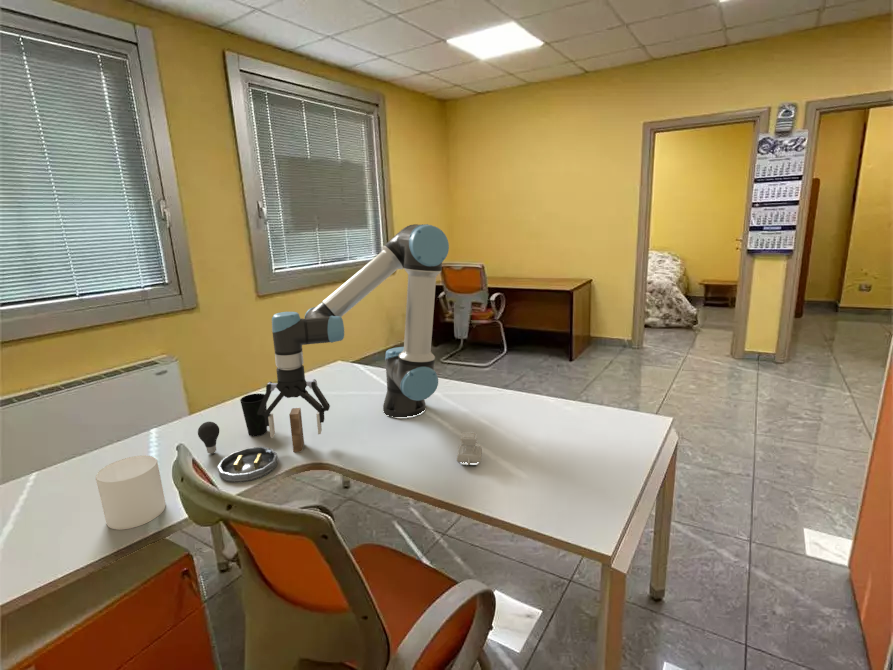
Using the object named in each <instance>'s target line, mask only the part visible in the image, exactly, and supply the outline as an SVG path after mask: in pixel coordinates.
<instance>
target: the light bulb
mask: <svg viewBox="0 0 893 670" xmlns="http://www.w3.org/2000/svg"><path fill="white" fill-rule="evenodd" d="M197 435H198V438H199V439H200V441H202V442H203V444H204V446H205V448H206V452H207V454H210V455H214V453H216V452H217V439H218V437H219V435H220V427H219V426H218V424H217V423H216V422H213V421H206V422H205V421H204V422H203V423H201V424H200V426H199V427H198V430H197Z"/></svg>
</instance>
